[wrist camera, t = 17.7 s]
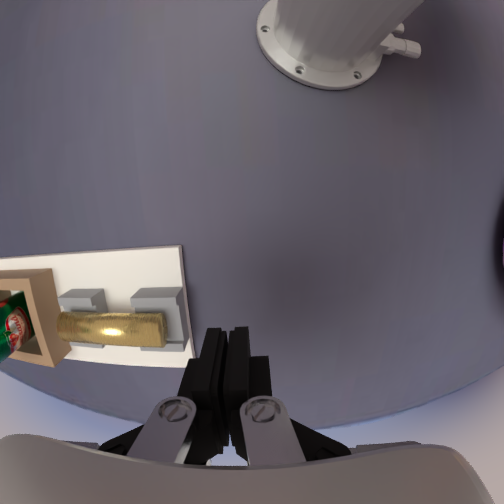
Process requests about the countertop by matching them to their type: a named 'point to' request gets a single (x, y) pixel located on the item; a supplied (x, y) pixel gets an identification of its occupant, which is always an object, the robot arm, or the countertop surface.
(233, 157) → the countertop surface
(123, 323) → the pin
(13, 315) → the soda can
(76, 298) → the dock
